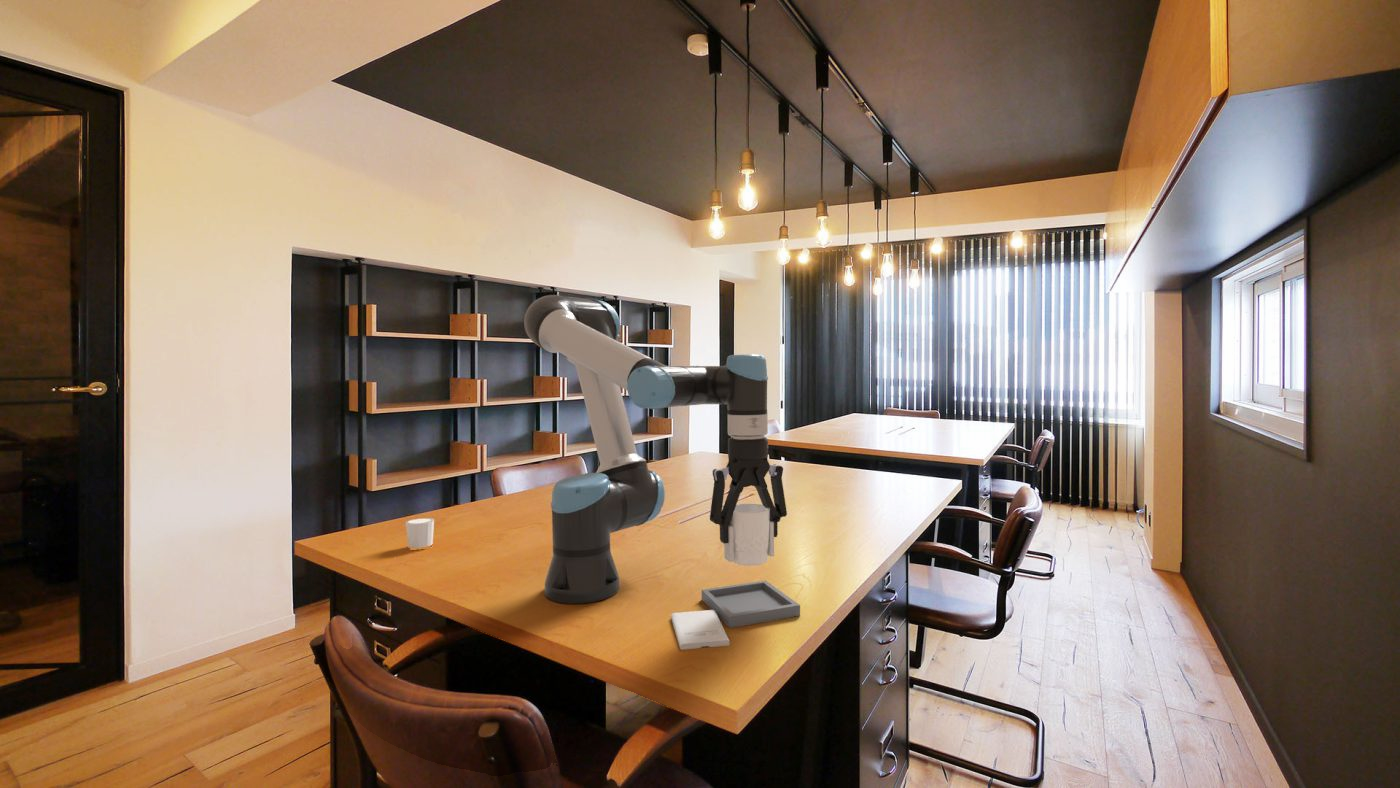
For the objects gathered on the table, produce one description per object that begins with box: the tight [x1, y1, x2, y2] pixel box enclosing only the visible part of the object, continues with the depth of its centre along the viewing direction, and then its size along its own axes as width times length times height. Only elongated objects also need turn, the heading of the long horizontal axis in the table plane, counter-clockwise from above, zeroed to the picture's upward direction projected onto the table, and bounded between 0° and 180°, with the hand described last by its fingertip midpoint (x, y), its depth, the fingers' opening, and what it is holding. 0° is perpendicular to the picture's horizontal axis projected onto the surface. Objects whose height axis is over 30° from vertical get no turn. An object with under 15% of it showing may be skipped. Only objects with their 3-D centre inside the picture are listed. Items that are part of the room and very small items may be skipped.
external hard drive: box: [670, 609, 730, 651], centre depth 105 cm, size 2×8×12 cm
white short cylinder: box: [405, 517, 435, 548], centre depth 157 cm, size 7×7×7 cm
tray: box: [701, 580, 801, 629], centre depth 115 cm, size 14×14×2 cm
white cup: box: [730, 503, 770, 567], centre depth 114 cm, size 8×8×10 cm
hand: (749, 556), depth 114 cm, fingers closed on white cup, 8 cm apart
